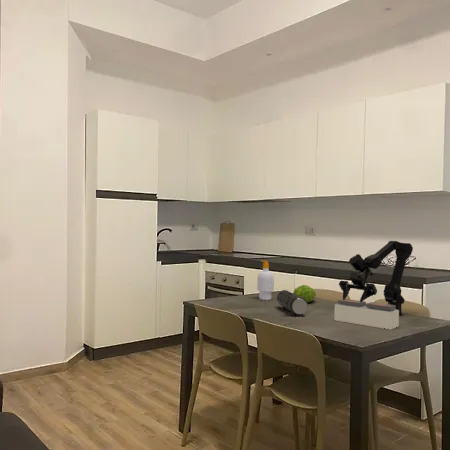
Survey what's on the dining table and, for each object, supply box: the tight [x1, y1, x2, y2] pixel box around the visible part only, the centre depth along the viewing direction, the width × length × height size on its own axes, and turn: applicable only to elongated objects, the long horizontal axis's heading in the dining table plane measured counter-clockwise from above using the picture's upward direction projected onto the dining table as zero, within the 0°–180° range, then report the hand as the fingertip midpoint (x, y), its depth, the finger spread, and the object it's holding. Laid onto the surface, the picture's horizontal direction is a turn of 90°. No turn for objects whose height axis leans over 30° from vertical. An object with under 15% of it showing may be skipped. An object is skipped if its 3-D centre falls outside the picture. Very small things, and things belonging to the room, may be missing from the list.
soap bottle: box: [256, 260, 275, 301], centre depth 301 cm, size 10×10×24 cm
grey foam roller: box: [276, 289, 308, 316], centre depth 260 cm, size 10×28×10 cm, turn 10°
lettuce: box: [292, 284, 317, 303], centre depth 297 cm, size 12×24×13 cm
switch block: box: [333, 303, 400, 331], centre depth 232 cm, size 9×29×8 cm, turn 47°
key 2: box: [366, 301, 396, 311], centre depth 227 cm, size 6×12×2 cm, turn 47°
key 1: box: [337, 298, 367, 307], centre depth 237 cm, size 6×12×2 cm, turn 48°
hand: (351, 300), depth 237 cm, fingers open, 9 cm apart
